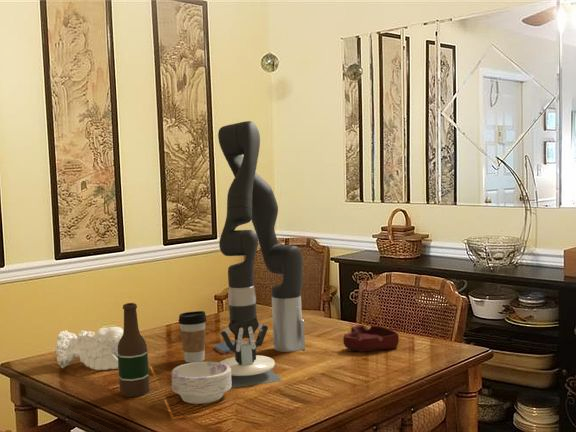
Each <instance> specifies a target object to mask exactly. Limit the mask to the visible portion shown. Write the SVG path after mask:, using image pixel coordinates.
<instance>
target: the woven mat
mask: <svg viewBox="0 0 576 432" xmlns="http://www.w3.org/2000/svg"><path fill="white" fill-rule="evenodd" d="M230 341H231V343H232V345H234V343H235V341H234V340H230ZM242 343H247V342H245V340H242ZM213 345H214V346H213V347H212V348H213V349H215V350H216V351H217V352H218V353H221V354H223V355H224V356H225V355H233V354H234V355H235V351H234V350H230V349H229V348H228V347H227V345H226V343H225V341H223V342H218V343H213Z"/></svg>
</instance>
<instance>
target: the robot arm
mask: <svg viewBox="0 0 576 432" xmlns="http://www.w3.org/2000/svg"><path fill="white" fill-rule="evenodd" d="M217 136H218V143H219V146H220V150H221V152H222V154H223V156H224V158H225V160H226V163H228V164H227V165H228V167H229V168H230V171H231V172H232V174H233V176H234V178H233V180H232V182H231V184H230V186H229V188H228V191H227V198H226V217H225V222H224V226H223V228H222V232H221V233H220V237H219V241H218V242H219V245H218V246H219V250H220V252H221V254H222V255H224V256H226V257H238V256H239V257H241V256H243V257H244V256H245V258H244V260H243V261H242V262H239V263H238V262H237V263H235V264H231V265H230V266H229V267H228V269H227V280H228V294H227V295H228V298H227V299H228V311H229V314H228V315H229V323H228V326H227V327H226V328H224V329H220V331H219V333H220V335H221V337H222V339H223V340H224V341H223V342H225V343H226V345H227V347H228V348H229V349H230V350H234V351H235V354H234V357H235V360H236V362H237V363H238V364H239V365H240V364H242V360H241V351H240V348H241V343H242V341H243V339H247V341H248V342H249V343H250V344H251V345H252V362H254V360H256V355H257V351H256V350H257V348H258V347H259V348H260V347H261V346H262V345H263V344H264V340H265V338H266V334H267V331H268V328H269V326H267V325H266V324H264V323H259V320H258V318H257V317H258V315H257V295H256V288H255V278H254V266H255V265H254V264H255V259H256V255H257V252H258V251H257V250H258V246H259V247H260V252H261V255H262V259H263V262H264V265H265V267H266V269H267V270H268V271H269V272H270V273H272V274H276V275H283V276H282V282H281V283H279V284H276V285H274V286H273V287H271V311H272V314H271V315H272V333H273V334H272V335H273V350H275V351H277V352H282V353H283V352H284V353H291V352H297V351H304V350H306V342H305V341H306V338H305V320H304V319H303V315H302V311H303V310H302V287H303V278H304V277H303V273H304V271H303V270H304V269H303V267H304V263H303V261H304V259H303V253H302V251H301V249H300V247H298V246H296V245H289V244H288V245H286V244H280V242H279V241H278V237H277V235H276V232H275V231H276V230H275V226H276V222H277V217H278V213H279V206H278V202H277V199H276V197H275V192H274V191H273V189H272V187H271V185H270V184H269V183H268V182H267V181H266V180H265V179H263V177H261V176H260V175H259V174H257V173H256V170H257V166H258V165H257V164H258V159H259V155H260V154H259V153H260V147H261V136H260V130H259V128H258V126H257V125H256V124H255V122H254V121H251V120H247V121H241V122H236V123H231V124H226V125H223V126H221V127H219V130H218V134H217ZM250 222H251V223H252V225H253V228H254V230H252V229H237V227H239V226H243V225H246V224H248V223H250ZM236 229H237V230H236ZM257 330H258V334H257V336H256V338H255V333H256V331H257ZM230 332H231V333H232V334H233V335H234V339H233V341H235V343H234V345H232V343H231V341H232V340H231V339H230V338H229V337H230V335H231V334H230Z"/></svg>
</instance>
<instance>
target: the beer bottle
mask: <svg viewBox="0 0 576 432" xmlns="http://www.w3.org/2000/svg"><path fill="white" fill-rule="evenodd" d="M137 308H138V306H137V303H134V302H129V303H128V302H127V303H124V304H122V309H123V336H122V337H121V339H120V341H119V344H118V368H117V369H118V382H119V383H118V384H119V392H120V394H121V396H122V397H124V398H125V397H127V398H136V397H142V396H144V395H146V394H147V393H149V392H150V374H149V357H148V356H149V355H148V347H147V342H146V340H145V338H144V337H143V336H142V334H141V333H140V329H139V328H140V327H139V323H138V322H139V320H138V314H137V313H138V312H137Z"/></svg>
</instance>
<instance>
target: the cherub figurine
mask: <svg viewBox="0 0 576 432" xmlns="http://www.w3.org/2000/svg"><path fill="white" fill-rule="evenodd" d="M123 331H124V328H122V327H120V326H110V327H100V328H98V329H97V331H96V333H95V332H94V331H90V330H87V331H86V330H83V329H82V330H80V331H79V332H78V334H77V335H76V334H75V333H74V332H69V331H68V330H67V329H65V330H61V331H60V332H59V333H58V334H57V340H56V345H55V354H56V361H57V363H58V366H60V367H61V369H65V368H66V367H68V366H69V365H70V364H71V363H74V362H76V359H78V358H79V361H80V362H81V363H83V364H84V366H85V367H87V368H90V369H91V370H95V371H108V370H117V369H119V368H118V344H119V341H120V339H121V337H122V336H123Z"/></svg>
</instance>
